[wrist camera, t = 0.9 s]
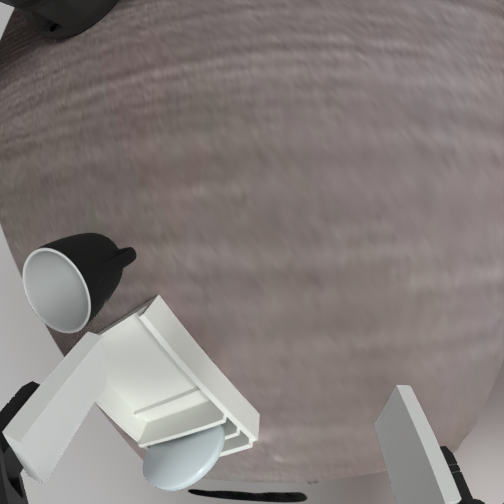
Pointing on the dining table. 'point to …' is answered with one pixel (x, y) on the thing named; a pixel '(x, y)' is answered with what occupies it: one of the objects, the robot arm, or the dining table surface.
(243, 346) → the dining table surface
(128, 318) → the dish rack
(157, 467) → the plate in rack
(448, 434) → the dining table surface
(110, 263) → the mug
